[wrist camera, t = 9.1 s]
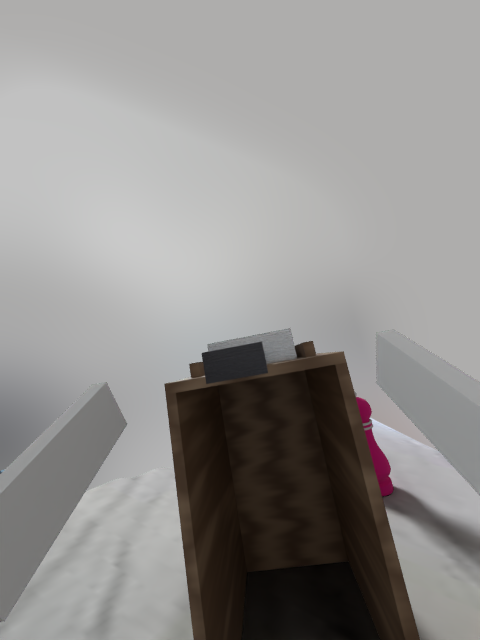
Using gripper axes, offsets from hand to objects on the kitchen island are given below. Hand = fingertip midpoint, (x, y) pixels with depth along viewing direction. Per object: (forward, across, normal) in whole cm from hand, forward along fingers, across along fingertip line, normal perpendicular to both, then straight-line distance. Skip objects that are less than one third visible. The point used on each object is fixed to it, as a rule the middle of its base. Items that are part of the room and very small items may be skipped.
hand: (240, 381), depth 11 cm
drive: (+12, 0, +7) cm, 14 cm away
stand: (+2, 0, +36) cm, 36 cm away
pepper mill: (+23, -19, +48) cm, 57 cm away
